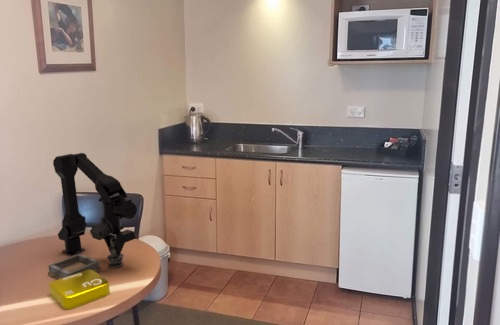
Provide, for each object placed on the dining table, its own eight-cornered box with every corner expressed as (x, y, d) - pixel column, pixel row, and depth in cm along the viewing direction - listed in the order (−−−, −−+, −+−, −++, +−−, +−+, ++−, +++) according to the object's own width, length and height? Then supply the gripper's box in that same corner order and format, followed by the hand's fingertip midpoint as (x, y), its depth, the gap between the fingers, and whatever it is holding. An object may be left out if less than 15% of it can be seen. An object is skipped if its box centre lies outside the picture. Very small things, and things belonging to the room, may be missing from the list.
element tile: (92, 279, 156) (91, 267, 155) (112, 294, 145) (111, 281, 144) (48, 294, 146) (46, 281, 145) (66, 312, 135) (64, 297, 134)
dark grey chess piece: (118, 260, 170) (115, 230, 167) (127, 264, 166) (125, 234, 164) (104, 265, 165) (102, 235, 163) (113, 270, 162) (111, 239, 159)
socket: (48, 275, 158) (47, 265, 158) (80, 262, 169) (79, 253, 168) (69, 284, 151) (68, 274, 150) (101, 270, 161) (100, 261, 160)
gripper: (77, 215, 160) (81, 255, 164) (109, 225, 150) (113, 268, 153) (103, 207, 169) (106, 245, 173) (135, 216, 159) (138, 256, 162)
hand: (115, 253), depth 165 cm, fingers closed on dark grey chess piece, 3 cm apart
